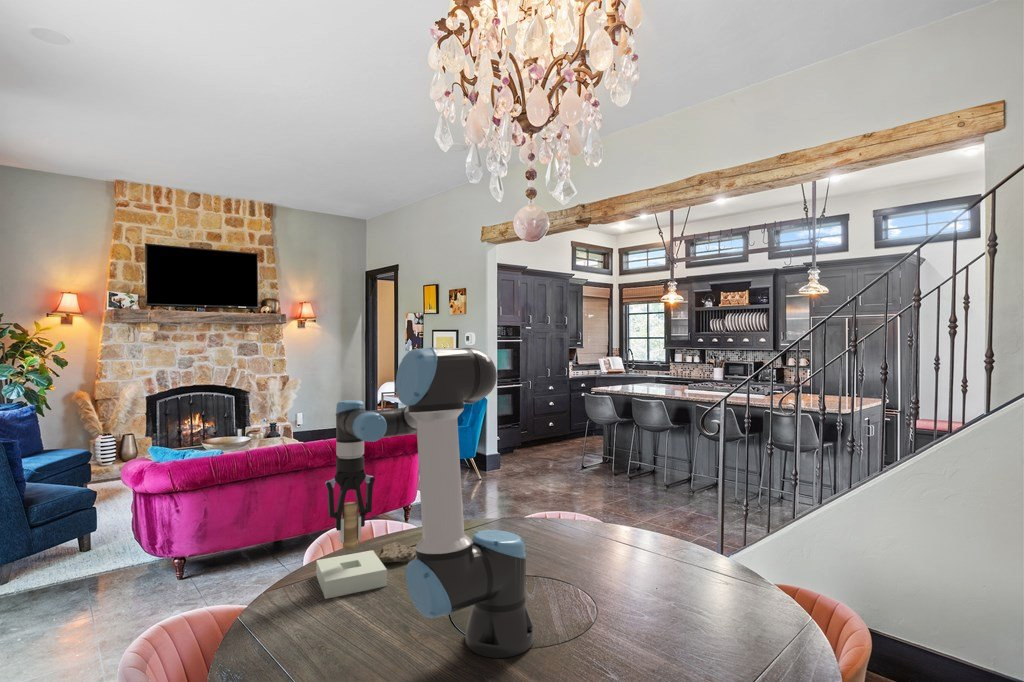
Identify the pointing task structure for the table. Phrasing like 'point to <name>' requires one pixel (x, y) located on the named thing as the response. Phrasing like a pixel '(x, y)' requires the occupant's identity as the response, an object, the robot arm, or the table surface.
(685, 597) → the table surface
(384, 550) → the rock
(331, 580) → the socket block
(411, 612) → the table surface
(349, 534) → the dowel
